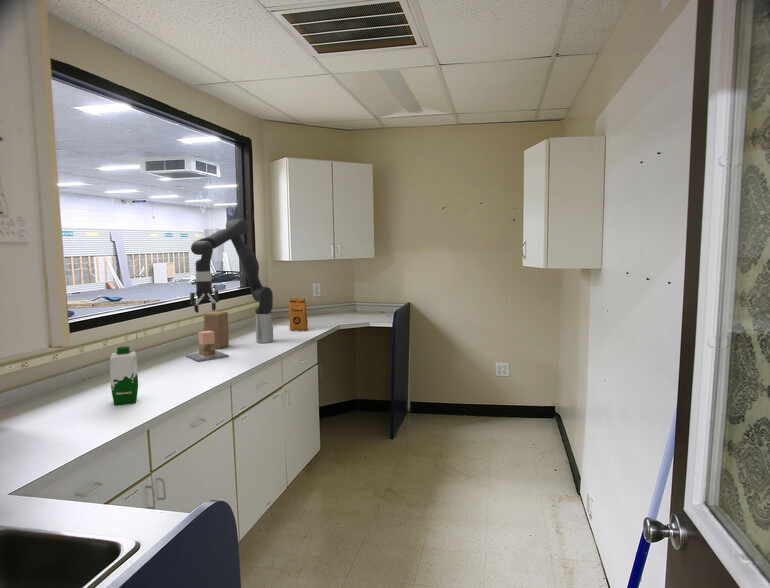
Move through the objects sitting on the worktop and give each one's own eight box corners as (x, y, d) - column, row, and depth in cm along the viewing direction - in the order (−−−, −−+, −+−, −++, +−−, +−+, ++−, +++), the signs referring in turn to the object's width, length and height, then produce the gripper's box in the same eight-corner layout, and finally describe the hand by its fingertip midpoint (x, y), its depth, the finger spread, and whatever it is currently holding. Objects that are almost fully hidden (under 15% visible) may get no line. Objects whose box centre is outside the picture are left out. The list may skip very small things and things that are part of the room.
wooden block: (220, 349, 271) (219, 313, 269) (204, 348, 273) (202, 313, 271) (229, 345, 281) (228, 311, 279) (213, 345, 283) (212, 311, 281)
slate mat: (215, 352, 264) (215, 350, 264) (228, 356, 253) (228, 354, 253) (185, 356, 254) (185, 354, 254) (198, 361, 242) (197, 359, 242)
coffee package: (305, 331, 326) (304, 299, 323) (287, 331, 327) (286, 298, 325) (309, 329, 335) (309, 297, 333) (292, 328, 337) (291, 297, 335)
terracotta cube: (210, 341, 257) (209, 330, 256) (214, 343, 252) (214, 332, 252) (198, 343, 253) (198, 331, 252) (203, 345, 248) (202, 333, 248)
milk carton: (139, 396, 187) (136, 345, 185) (138, 403, 178) (135, 350, 176) (113, 399, 183) (110, 347, 181) (110, 406, 175) (107, 352, 173)
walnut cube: (210, 352, 257) (210, 341, 257) (215, 354, 253) (214, 343, 252) (199, 354, 253) (198, 343, 253) (203, 356, 249) (203, 345, 248)
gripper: (214, 278, 256) (215, 309, 258) (186, 280, 247) (188, 312, 249) (220, 279, 251) (221, 310, 253) (192, 281, 241) (194, 313, 243)
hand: (205, 311), depth 251 cm, fingers open, 8 cm apart
